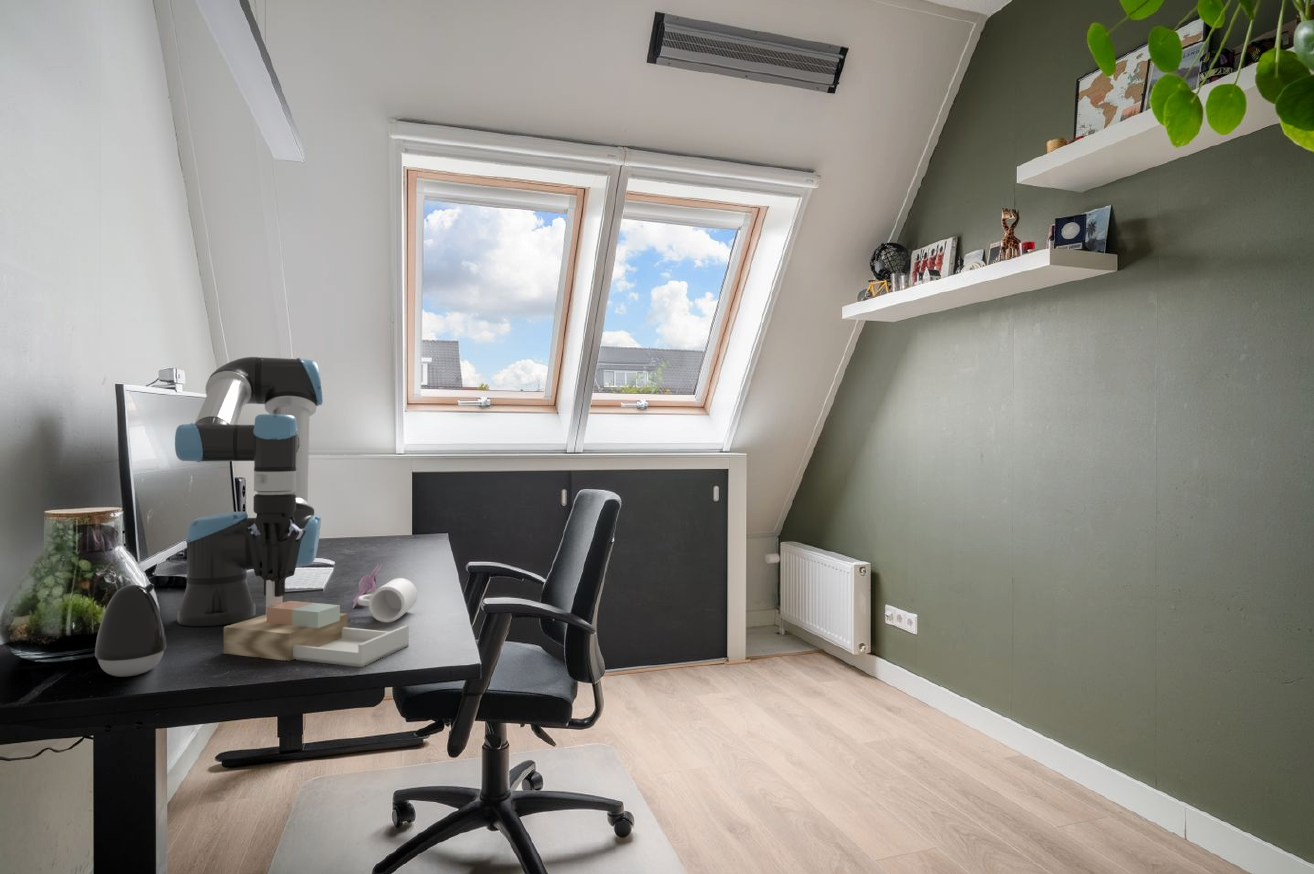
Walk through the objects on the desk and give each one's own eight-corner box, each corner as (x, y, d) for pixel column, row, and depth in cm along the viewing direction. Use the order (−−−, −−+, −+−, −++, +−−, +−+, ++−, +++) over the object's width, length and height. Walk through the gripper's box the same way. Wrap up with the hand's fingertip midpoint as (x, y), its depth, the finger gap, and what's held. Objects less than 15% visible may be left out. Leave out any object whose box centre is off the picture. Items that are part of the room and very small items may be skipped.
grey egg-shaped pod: (180, 663, 138) (180, 579, 138) (140, 682, 128) (140, 591, 128) (124, 662, 138) (124, 578, 138) (79, 681, 128) (80, 590, 128)
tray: (292, 659, 141) (293, 637, 141) (344, 639, 154) (344, 619, 154) (361, 667, 137) (362, 644, 137) (408, 646, 150) (408, 625, 150)
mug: (417, 612, 178) (417, 577, 178) (404, 622, 169) (404, 586, 168) (365, 612, 178) (365, 577, 178) (349, 622, 168) (349, 586, 168)
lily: (365, 600, 194) (346, 570, 191) (407, 583, 194) (389, 552, 191) (352, 626, 183) (331, 594, 180) (396, 608, 182) (376, 575, 179)
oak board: (223, 653, 144) (223, 626, 144) (286, 632, 160) (287, 608, 160) (288, 660, 140) (288, 633, 140) (347, 638, 155) (347, 613, 155)
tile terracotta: (266, 622, 148) (266, 607, 148) (289, 615, 153) (290, 600, 153) (291, 625, 146) (291, 609, 146) (314, 618, 152) (314, 602, 152)
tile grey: (291, 625, 146) (292, 609, 146) (314, 617, 152) (314, 602, 152) (317, 628, 144) (317, 612, 144) (339, 620, 150) (339, 605, 150)
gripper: (233, 493, 149) (232, 614, 149) (287, 495, 145) (286, 619, 145) (263, 490, 156) (262, 606, 156) (316, 492, 152) (315, 611, 152)
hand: (274, 612), depth 150 cm, fingers closed
